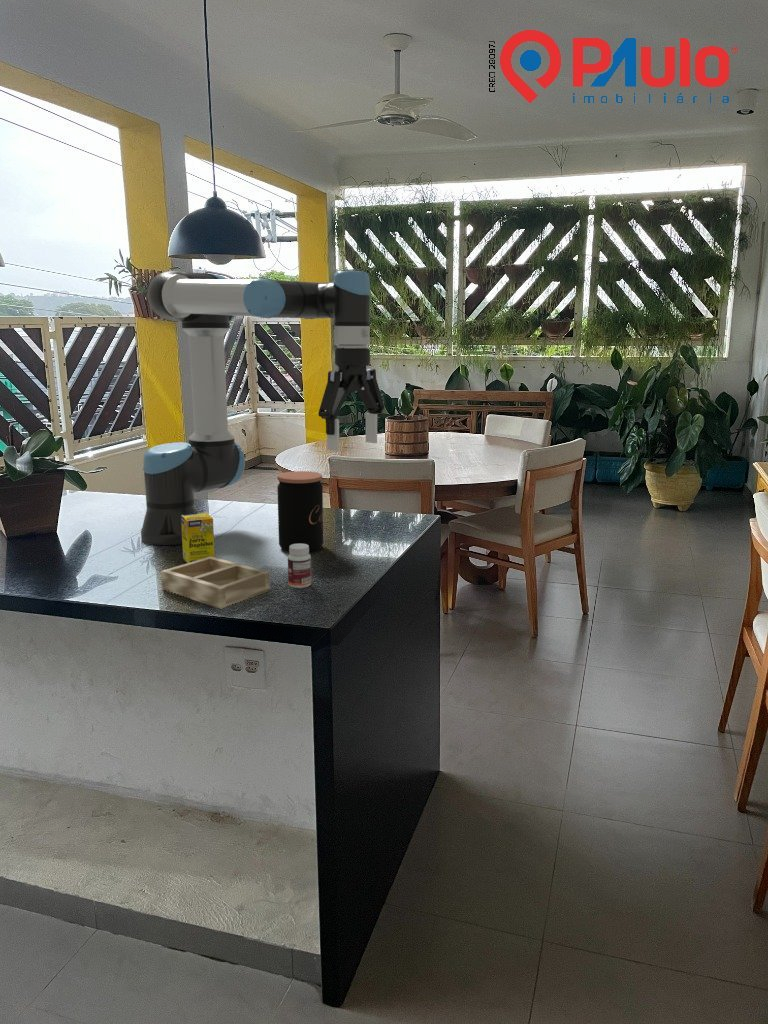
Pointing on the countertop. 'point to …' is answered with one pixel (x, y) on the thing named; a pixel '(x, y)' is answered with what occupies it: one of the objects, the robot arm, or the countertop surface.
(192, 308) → the robot arm
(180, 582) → the divided wooden tray
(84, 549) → the countertop surface
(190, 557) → the supplement box
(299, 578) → the pill bottle
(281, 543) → the coffee jar
